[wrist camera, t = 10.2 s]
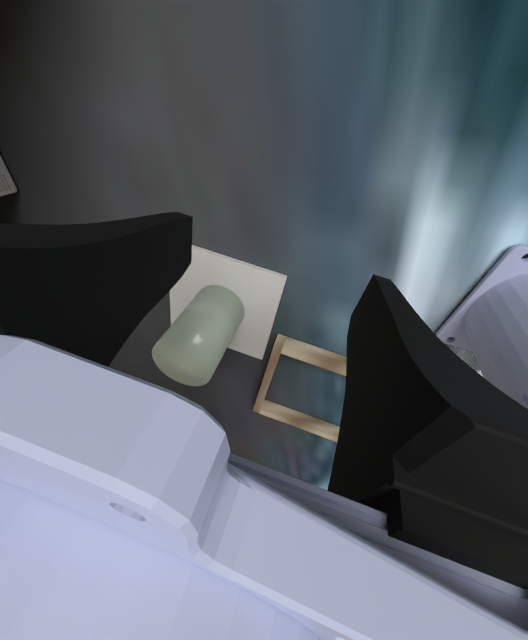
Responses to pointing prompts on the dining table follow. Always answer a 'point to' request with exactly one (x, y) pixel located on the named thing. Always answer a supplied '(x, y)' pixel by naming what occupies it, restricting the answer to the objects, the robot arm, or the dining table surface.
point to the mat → (246, 282)
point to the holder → (310, 356)
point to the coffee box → (6, 180)
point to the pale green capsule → (199, 336)
